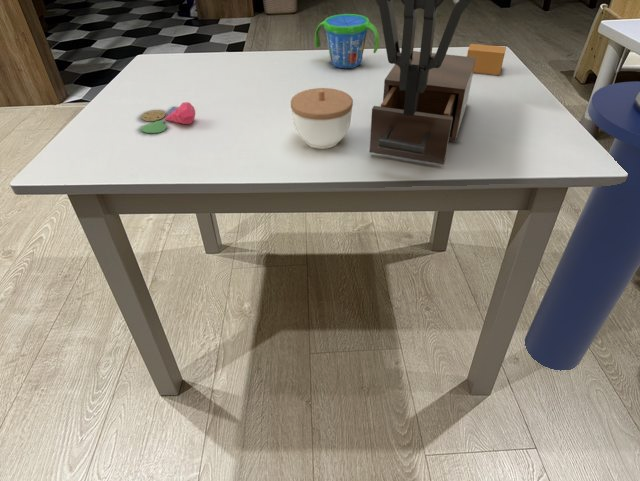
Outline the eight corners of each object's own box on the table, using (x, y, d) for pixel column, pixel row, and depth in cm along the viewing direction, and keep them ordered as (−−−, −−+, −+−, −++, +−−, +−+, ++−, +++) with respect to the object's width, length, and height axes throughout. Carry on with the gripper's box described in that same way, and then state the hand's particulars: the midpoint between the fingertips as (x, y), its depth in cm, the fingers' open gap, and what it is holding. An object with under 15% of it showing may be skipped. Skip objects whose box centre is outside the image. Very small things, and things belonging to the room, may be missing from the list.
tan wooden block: (500, 68, 108) (506, 46, 104) (499, 75, 105) (504, 53, 101) (466, 64, 110) (470, 43, 107) (464, 71, 107) (468, 49, 103)
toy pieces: (204, 107, 95) (200, 87, 92) (192, 133, 86) (187, 111, 83) (147, 108, 95) (141, 88, 92) (130, 134, 87) (123, 112, 84)
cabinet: (455, 142, 82) (465, 89, 75) (380, 130, 86) (384, 79, 79) (466, 106, 93) (476, 57, 86) (400, 97, 97) (404, 50, 90)
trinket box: (330, 121, 89) (330, 74, 82) (363, 144, 82) (365, 94, 76) (282, 137, 84) (278, 87, 78) (312, 162, 78) (311, 110, 71)
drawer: (437, 183, 70) (445, 137, 65) (359, 169, 74) (361, 124, 69) (456, 125, 84) (464, 83, 79) (390, 115, 88) (393, 75, 83)
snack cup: (307, 66, 111) (306, 22, 105) (327, 52, 118) (326, 10, 112) (366, 76, 106) (369, 30, 99) (383, 61, 113) (386, 17, 106)
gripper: (367, -76, 52) (361, 116, 67) (485, -74, 48) (450, 128, 64) (384, -84, 57) (375, 96, 73) (491, -83, 54) (457, 106, 69)
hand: (410, 111), depth 68 cm, fingers closed
